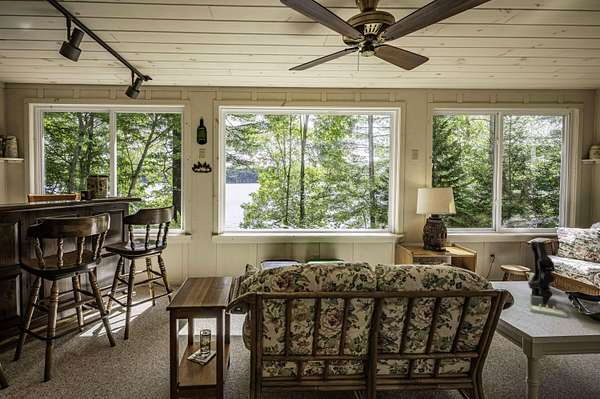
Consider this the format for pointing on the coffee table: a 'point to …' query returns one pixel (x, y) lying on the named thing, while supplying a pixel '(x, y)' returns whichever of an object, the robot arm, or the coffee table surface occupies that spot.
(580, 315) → the coffee table surface
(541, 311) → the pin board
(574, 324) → the coffee table surface
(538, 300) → the panel
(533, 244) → the robot arm
